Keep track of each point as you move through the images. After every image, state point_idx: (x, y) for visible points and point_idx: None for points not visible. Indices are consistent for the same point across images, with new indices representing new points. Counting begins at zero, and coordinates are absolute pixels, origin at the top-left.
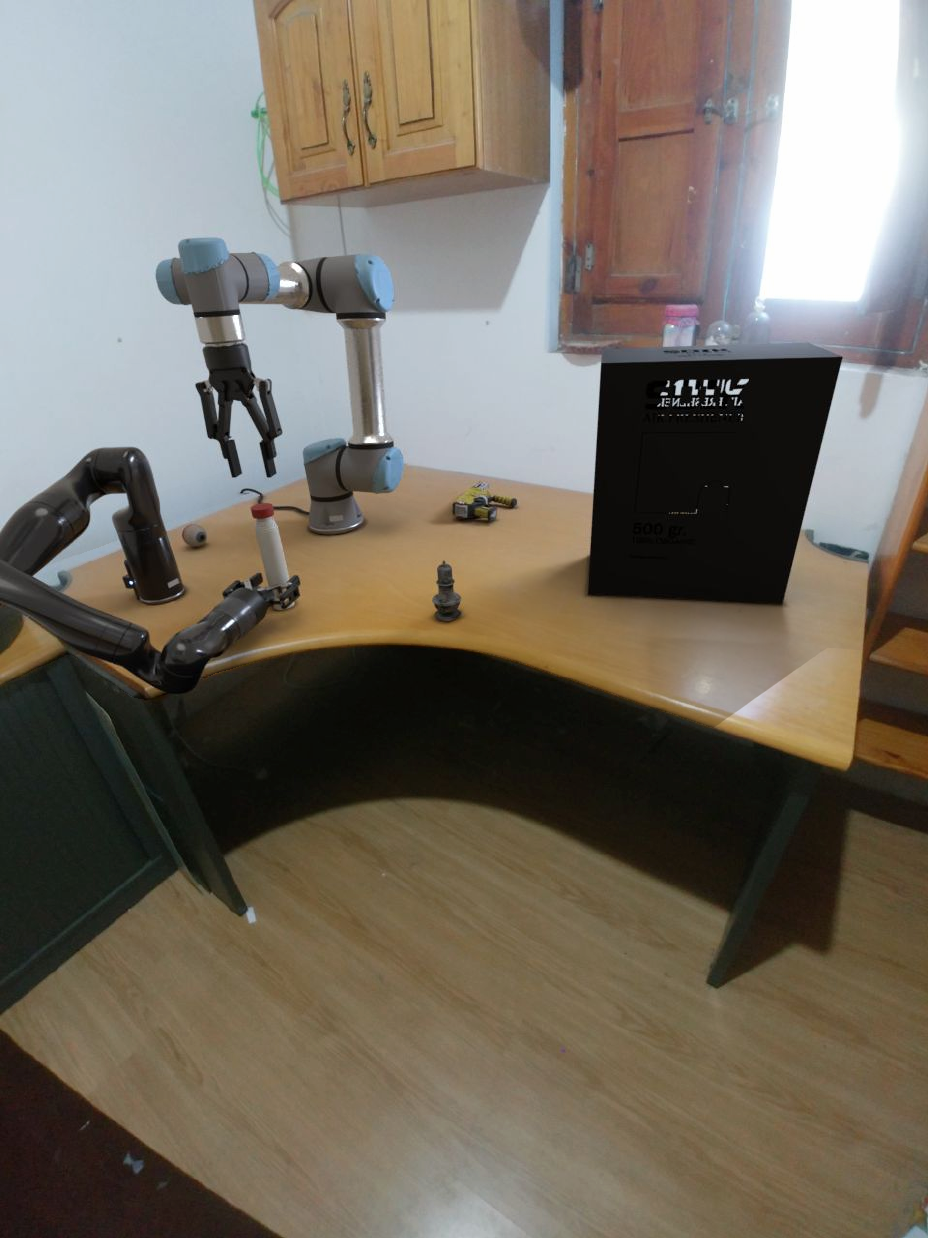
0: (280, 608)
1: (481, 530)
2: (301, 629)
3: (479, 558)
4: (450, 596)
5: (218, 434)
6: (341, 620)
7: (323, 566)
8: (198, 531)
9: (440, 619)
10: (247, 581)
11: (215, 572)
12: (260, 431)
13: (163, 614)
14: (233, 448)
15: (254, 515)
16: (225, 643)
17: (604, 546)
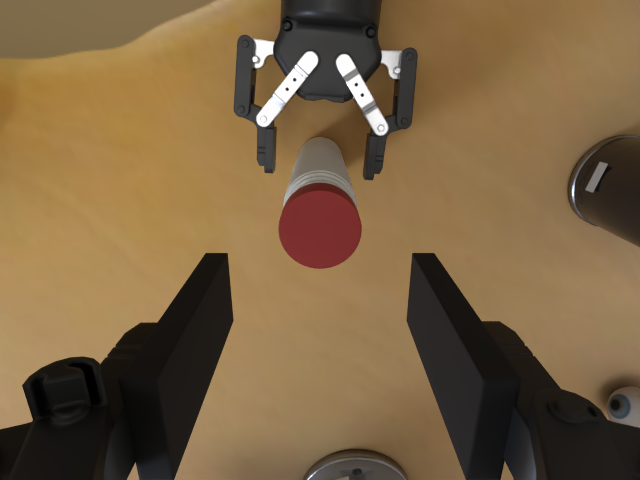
0: (317, 137)
1: None
2: (234, 57)
3: (8, 371)
4: None
5: (604, 451)
6: (166, 103)
7: (308, 325)
8: (630, 415)
9: None
10: (376, 122)
11: (533, 288)
12: (63, 473)
13: (578, 97)
14: (450, 395)
15: (335, 187)
16: None
17: None
